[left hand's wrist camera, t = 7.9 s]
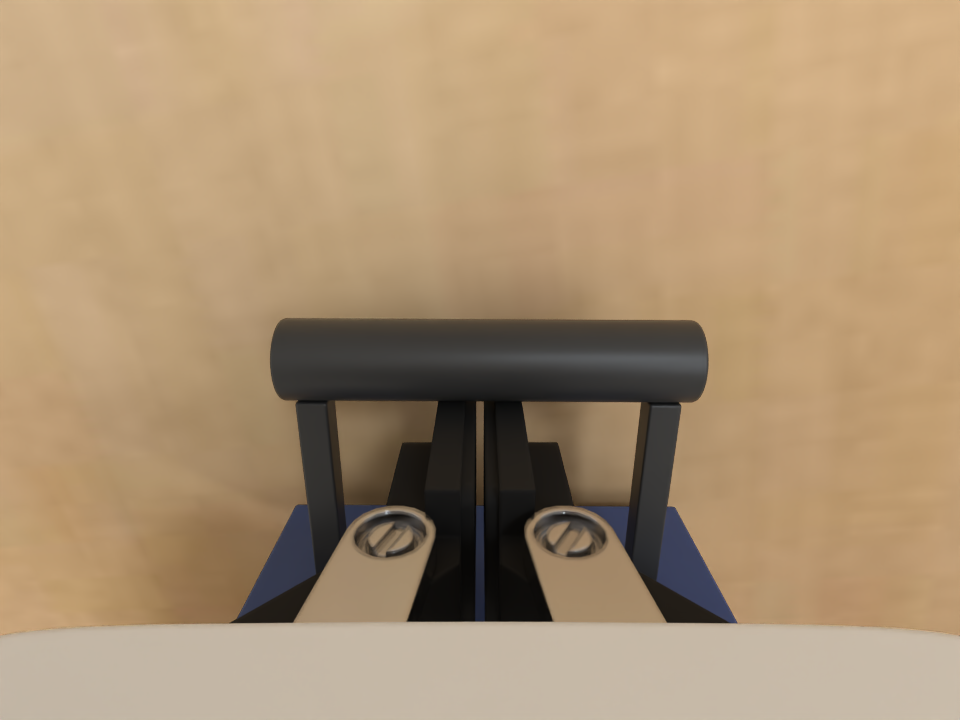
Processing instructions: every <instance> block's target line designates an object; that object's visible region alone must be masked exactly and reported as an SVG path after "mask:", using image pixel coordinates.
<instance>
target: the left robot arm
mask: <svg viewBox="0 0 960 720" xmlns="http://www.w3.org/2000/svg"><path fill="white" fill-rule="evenodd" d="M475 593H476V401H438V407H437V414H436V420H435V426H434V433H433V439H432V442H404V443H402V446H401V450H400V454H399V458H398V462H397V466H396V469H395V473H394V477H393V481H392V485H391V489H390V493H389V497H388V501H387V505H386V507H381V508H376V509H374V510H371V511H369V512H366V513H364V514H362V515H361V516H359V517H358V518H357V519H355V520H354V521H353V522H352V523H351V525H350V526H349V527H348V528H347V530H346V531H345V533H344V535H343V537H342V538H341V540H340V542H339V544H338V545H337V547H336V549H335V551H334V552H333V554H332V556H331V557H330V559H329V561H328V563H327V564H326V566H325V568H324V570H323V571H321V572H319V573H317V574H315V575H314V576H312V577H310V578H308V579H307V580H305V581H303V582H301V583H300V584H298V585H296V586H294V587H292V588H291V589H289V590H287V591H285V592H284V593H282V594H280V595H278V596H277V597H275V598H273V599H271V600H269V601H268V602H266V603H264V604H262V605H261V606H259V607H257V608H255V609H254V610H252V611H250V612H248V613H246V614H245V615H243V616H241V617H239V618H238V619H236V620H234V621H232V622H231V623H224V624H140V625H113V626H86V627H63V628H53V629H43V630H33V631H23V632H16V633H11V634H5V635H0V720H960V635H955V634H949V633H944V632H937V631H927V630H917V629H907V628H897V627H874V626H847V625H820V624H736V623H729V622H728V621H726V620H724V619H722V618H721V617H719V616H717V615H715V614H714V613H712V612H710V611H708V610H706V609H705V608H703V607H701V606H699V605H698V604H696V603H694V602H692V601H691V600H689V599H687V598H685V597H683V596H682V595H680V594H678V593H676V592H675V591H673V590H671V589H669V588H668V587H666V586H664V585H662V584H660V583H659V582H657V581H655V580H653V579H652V578H650V577H648V576H646V575H645V574H643V573H641V572H639V571H637V570H636V568H635V566H634V564H633V563H632V561H631V559H630V557H629V556H628V554H627V552H626V551H625V549H624V547H623V545H622V544H621V542H620V540H619V538H618V537H617V535H616V533H615V531H614V530H613V528H612V527H611V526H610V525H609V523H608V522H607V521H606V520H605V519H603V518H602V517H601V516H599V515H598V514H596V513H594V512H591V511H589V510H586V509H584V508H579V507H574V505H573V501H572V497H571V493H570V489H569V485H568V481H567V477H566V473H565V470H564V466H563V462H562V458H561V454H560V450H559V446H558V444H557V443H556V442H528V439H527V433H526V426H525V420H524V414H523V407H522V402H511V401H484V595H485V622H475Z"/></svg>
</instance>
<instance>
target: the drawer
mask: <svg viewBox="0 0 960 720" xmlns="http://www.w3.org/2000/svg"><path fill="white" fill-rule="evenodd" d="M270 368H271V376H272V381H273V385H274V388H275V391H276V393H277V395H278V396H279V397H280V398H281V399H283V400H298V401H297V403H296V412H297V421H298V429H299V437H300V446H301V454H302V462H303V471H304V479H305V487H306V496H307V504H308V505H296V506H295V508H294V510H293V512H292V514H291V516H290V518H289V520H288V522H287V524H286V525H285V527H284V529H283V531H282V533H281V535H280V537H279V539H278V541H277V543H276V545H275V547H274V548H273V550H272V552H271V554H270V556H269V558H268V560H267V562H266V564H265V566H264V568H263V570H262V572H261V573H260V575H259V577H258V579H257V581H256V583H255V585H254V587H253V589H252V591H251V593H250V595H249V596H248V598H247V600H246V602H245V604H244V606H243V608H242V610H241V612H240V614H239V616H238V618H239V617H241V616H243V615H245V614H246V613H248V612H250V611H252V610H254V609H255V608H257V607H259V606H261V605H262V604H264V603H266V602H268V601H269V600H271V599H273V598H275V597H277V596H278V595H280V594H282V593H284V592H285V591H287V590H289V589H291V588H292V587H294V586H296V585H298V584H300V583H301V582H303V581H305V580H307V579H308V578H310V577H312V576H314V575H315V574H317V573H319V572H321V571H323V570H324V568H325V566H326V564H327V563H328V561H329V559H330V557H331V556H332V554H333V552H334V551H335V549H336V547H337V545H338V544H339V542H340V540H341V538H342V537H343V535H344V533H345V531H346V530H347V528H348V527H349V526H350V525H351V523H352V522H353V521H354V520H355V519H357V518H358V517H359V516H361V515H362V514H364V513H366V512H369V511H371V510H374V509H376V508H381V507H386V505H344V495H343V484H342V473H341V463H340V452H339V441H338V430H337V420H336V409H335V401H511V402H641V409H640V418H639V426H638V435H637V444H636V453H635V461H634V470H633V479H632V488H631V496H630V505H629V506H574V507H579V508H584V509H586V510H589V511H591V512H594V513H596V514H598V515H599V516H601V517H602V518H603V519H605V520H606V521H607V522H608V523H609V525H610V526H611V527H612V528H613V530H614V531H615V533H616V535H617V537H618V538H619V540H620V542H621V544H622V545H623V547H624V549H625V551H626V552H627V554H628V556H629V557H630V559H631V561H632V563H633V564H634V566H635V568H636V570H637V571H639V572H641V573H643V574H645V575H646V576H648V577H650V578H652V579H653V580H655V581H657V582H659V583H660V584H662V585H664V586H666V587H668V588H669V589H671V590H673V591H675V592H676V593H678V594H680V595H682V596H683V597H685V598H687V599H689V600H691V601H692V602H694V603H696V604H698V605H699V606H701V607H703V608H705V609H706V610H708V611H710V612H712V613H714V614H715V615H717V616H719V617H721V618H722V619H724V620H726V621H728V622H729V623H736V624H738V623H737V621H736V619H735V617H734V616H733V614H732V612H731V610H730V608H729V606H728V605H727V603H726V601H725V599H724V597H723V595H722V593H721V592H720V590H719V588H718V586H717V584H716V582H715V581H714V579H713V577H712V575H711V573H710V571H709V569H708V568H707V566H706V564H705V562H704V560H703V558H702V556H701V555H700V553H699V551H698V549H697V547H696V545H695V544H694V542H693V540H692V538H691V536H690V534H689V532H688V531H687V529H686V527H685V525H684V523H683V521H682V520H681V518H680V516H679V514H678V512H677V510H676V508H675V507H667V504H668V497H669V490H670V483H671V476H672V469H673V462H674V455H675V448H676V441H677V433H678V426H679V419H680V412H681V405H680V403H679V402H694V401H696V400H698V399H699V398H700V396H701V395H702V393H703V391H704V388H705V384H706V380H707V374H708V348H707V342H706V338H705V334H704V332H703V330H702V328H701V326H700V325H699V324H698V323H697V322H695V321H692V320H513V319H319V318H286V319H283V320H281V321H280V322H279V323H278V325H277V326H276V328H275V331H274V334H273V338H272V343H271V351H270ZM238 618H237V619H238ZM475 622H485V595H484V506H476V593H475Z"/></svg>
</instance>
